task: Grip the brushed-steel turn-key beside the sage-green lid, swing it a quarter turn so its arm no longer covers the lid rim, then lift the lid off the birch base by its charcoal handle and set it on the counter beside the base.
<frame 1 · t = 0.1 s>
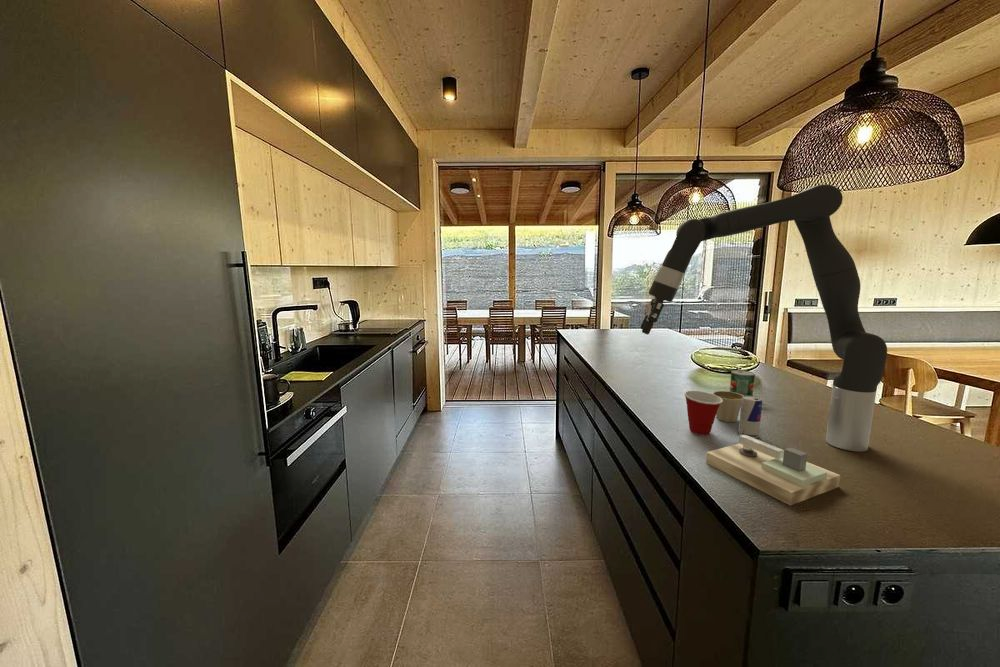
hand: (643, 331, 124), 31 cm above the countertop, tool tilted 20°, fingers open, 8 cm apart
energy drink: (748, 436, 120), on the countertop
snap lid: (793, 473, 92), point 3 cm above the countertop, touching latch base
plastic cup: (700, 432, 123), on the countertop
latch base: (768, 474, 98), on the countertop
flower pot: (726, 419, 134), on the countertop
latch key: (760, 449, 99), point 6 cm above the countertop, hinge at 0.0°
canned tomato: (740, 399, 154), on the countertop
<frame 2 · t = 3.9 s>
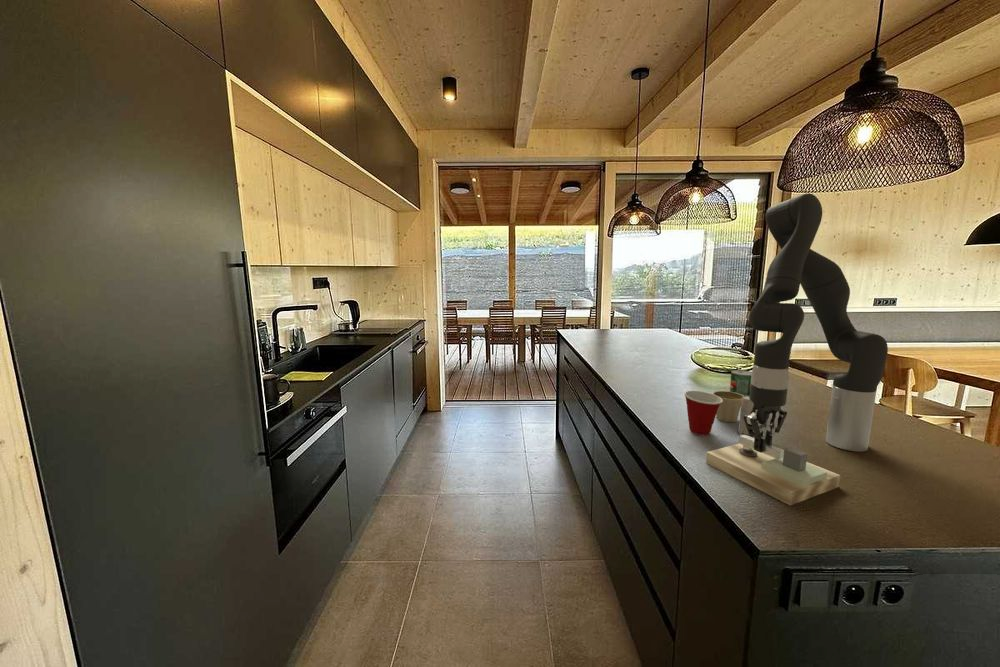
hand: (762, 449, 98), 6 cm above the countertop, tool pointing down, fingers closed on latch key, 2 cm apart
latch key: (760, 449, 99), point 6 cm above the countertop, hinge at 0.0°, touching gripper
everything else where it was.
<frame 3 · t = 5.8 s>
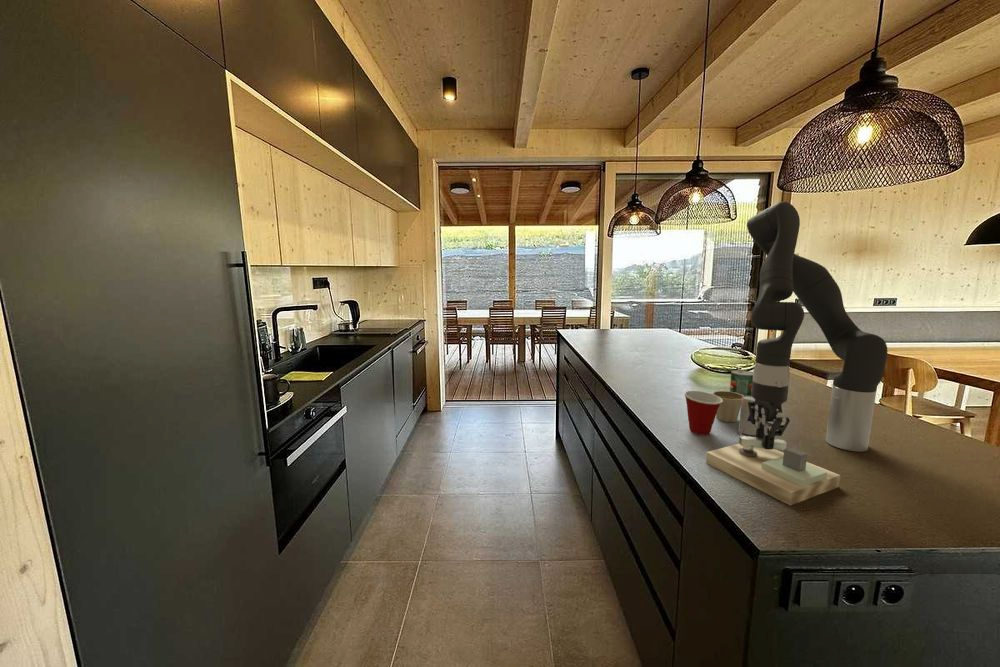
hand: (764, 445, 101), 6 cm above the countertop, tool pointing down, fingers closed on latch key, 2 cm apart
latch key: (761, 445, 101), point 6 cm above the countertop, hinge at 50.6°, touching gripper
everything else where it was.
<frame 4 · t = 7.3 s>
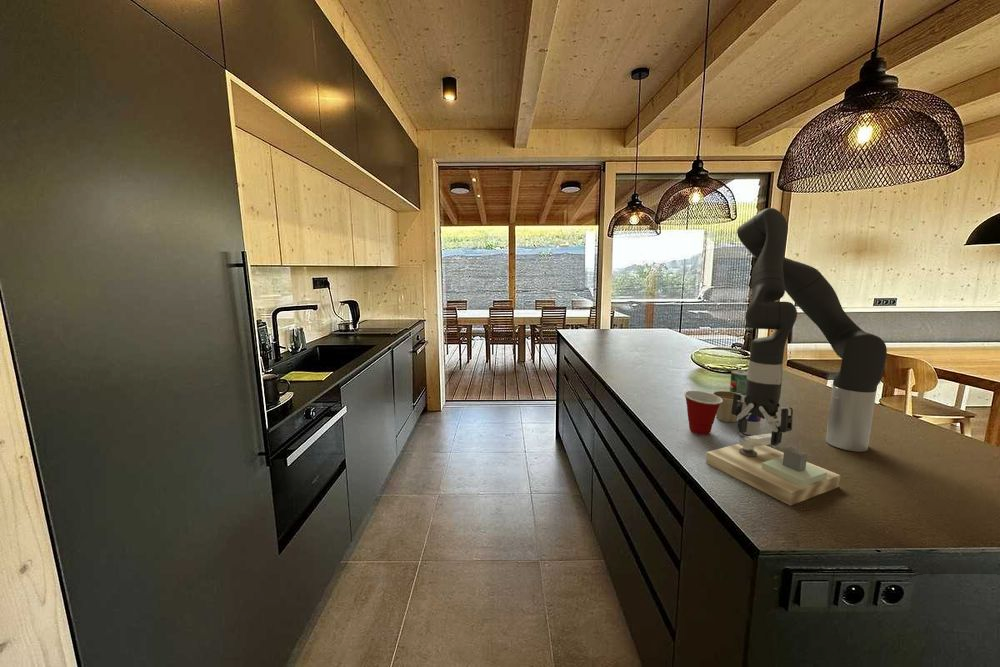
hand: (758, 438, 103), 7 cm above the countertop, tool pointing down, fingers open, 8 cm apart
latch key: (758, 443, 102), point 6 cm above the countertop, hinge at 81.4°
everything else where it was.
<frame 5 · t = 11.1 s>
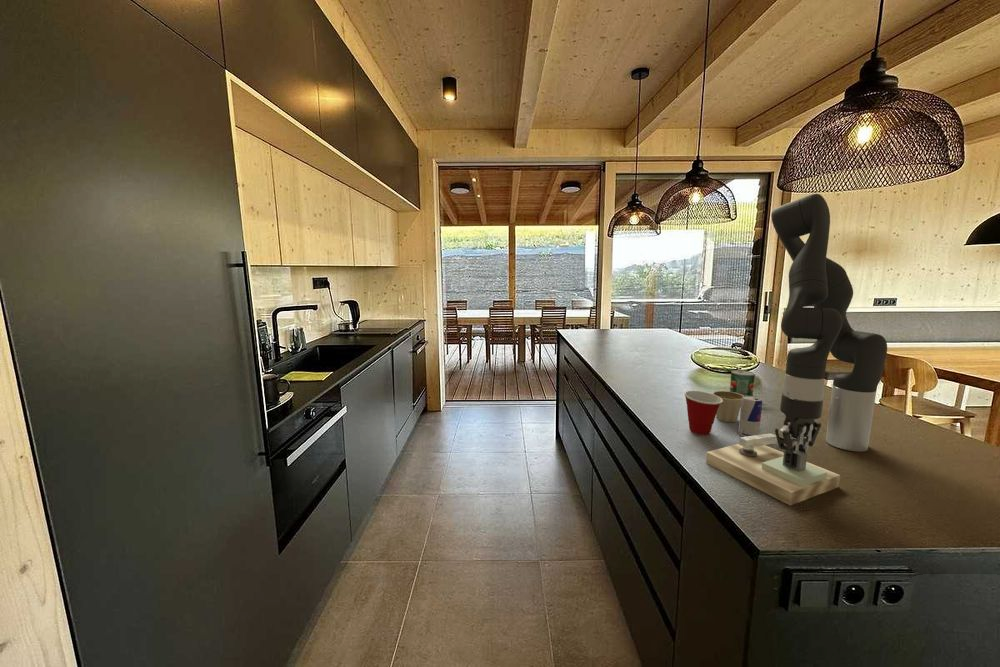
hand: (794, 464, 92), 5 cm above the countertop, tool pointing down, fingers closed on snap lid, 2 cm apart
snap lid: (793, 473, 92), point 3 cm above the countertop, touching gripper, latch base
everything else where it was.
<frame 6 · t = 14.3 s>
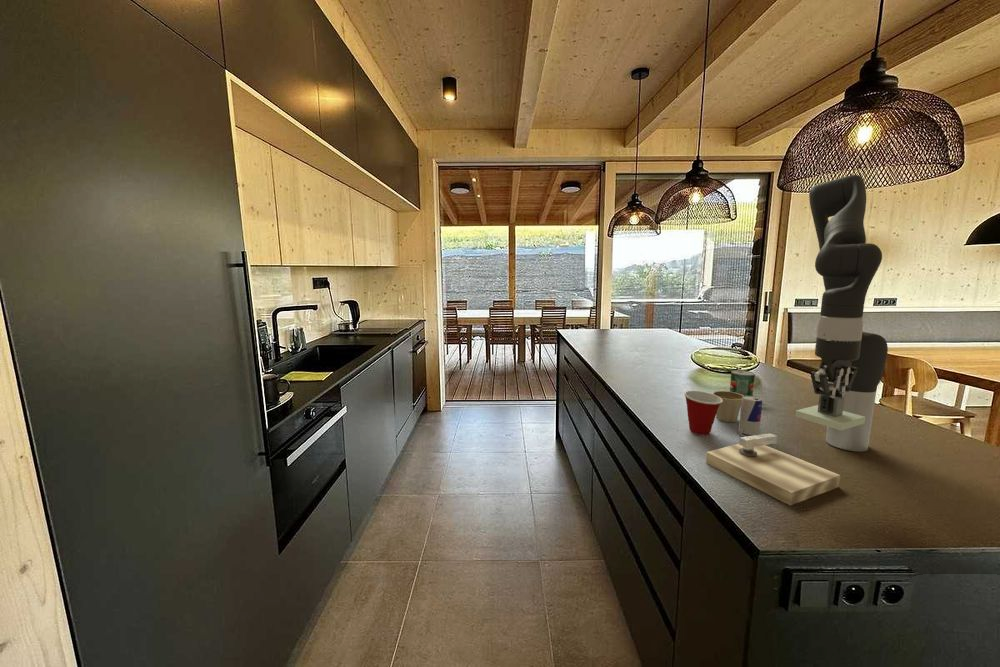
hand: (830, 411, 89), 19 cm above the countertop, tool pointing down, fingers closed on snap lid, 2 cm apart
snap lid: (829, 419, 89), point 17 cm above the countertop, touching gripper
everything else where it was.
when the fingers open (4 cm above the countertop, at t = 17.7 s): snap lid drops 2 cm, on the countertop.
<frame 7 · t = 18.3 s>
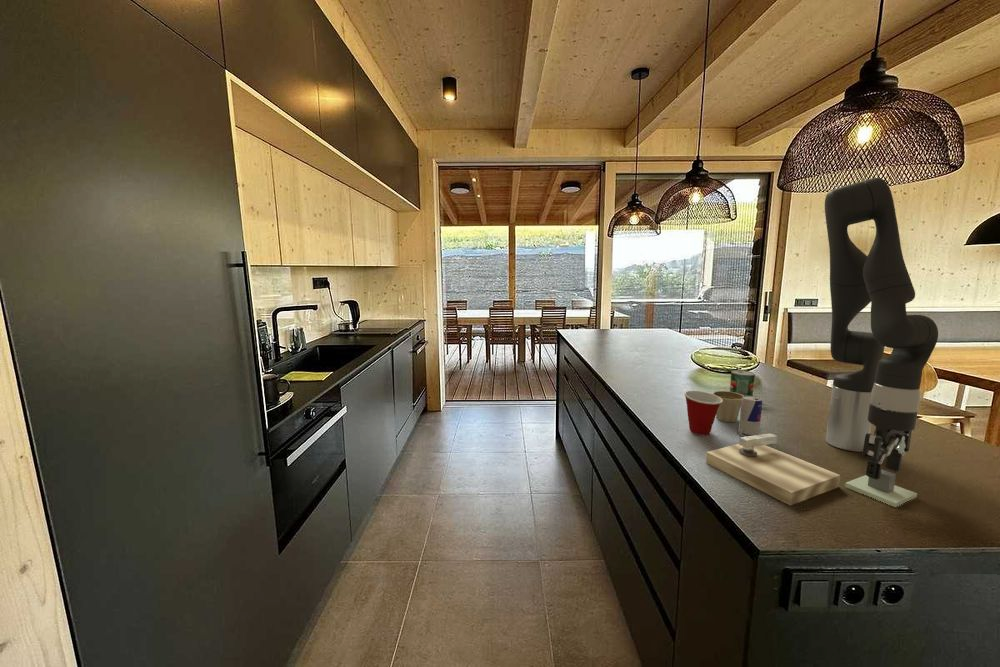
hand: (882, 473, 89), 5 cm above the countertop, tool pointing down, fingers open, 8 cm apart
snap lid: (879, 494, 89), on the countertop
everything else where it was.
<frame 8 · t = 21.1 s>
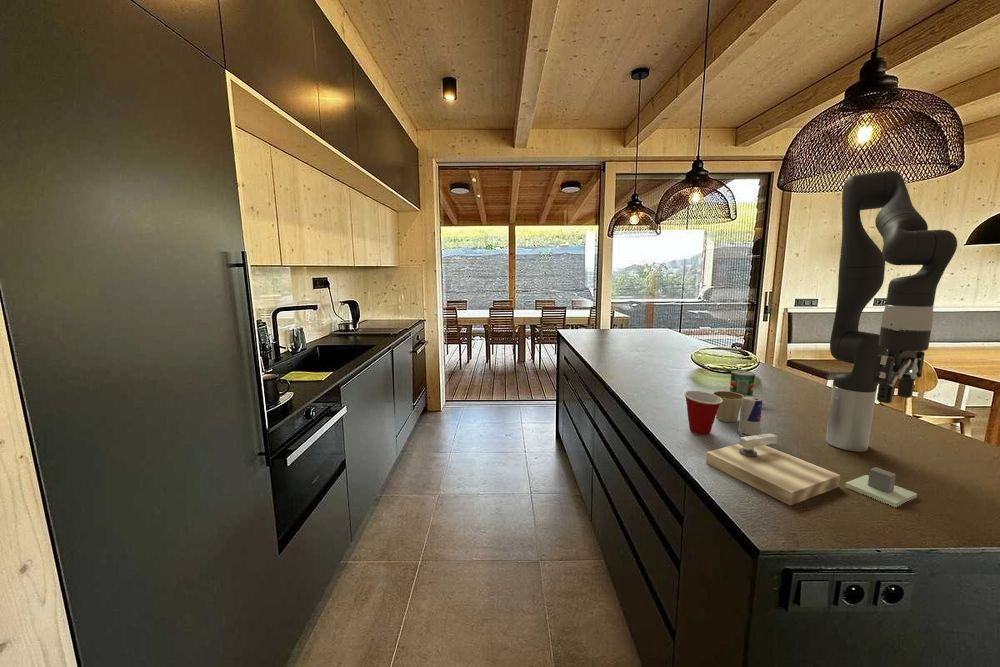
hand: (894, 399, 86), 22 cm above the countertop, tool pointing down, fingers open, 8 cm apart
nothing on the countertop moved.
at the end: latch key at +82° (first picture: +0°); snap lid inside the target area (0.0 cm from its centre), on the countertop; the gripper is holding nothing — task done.
